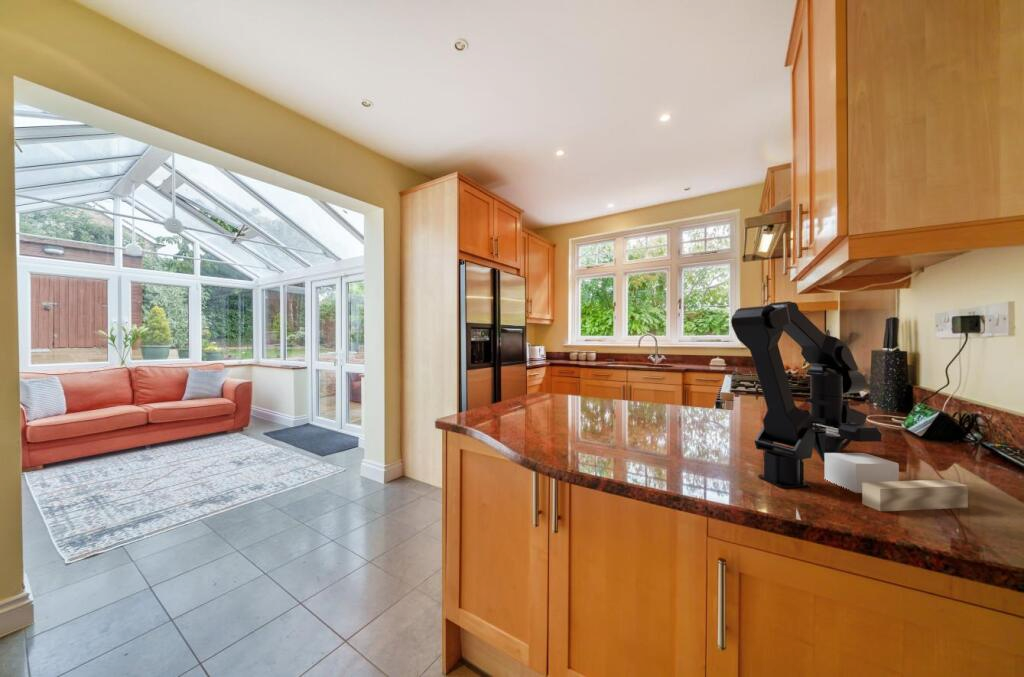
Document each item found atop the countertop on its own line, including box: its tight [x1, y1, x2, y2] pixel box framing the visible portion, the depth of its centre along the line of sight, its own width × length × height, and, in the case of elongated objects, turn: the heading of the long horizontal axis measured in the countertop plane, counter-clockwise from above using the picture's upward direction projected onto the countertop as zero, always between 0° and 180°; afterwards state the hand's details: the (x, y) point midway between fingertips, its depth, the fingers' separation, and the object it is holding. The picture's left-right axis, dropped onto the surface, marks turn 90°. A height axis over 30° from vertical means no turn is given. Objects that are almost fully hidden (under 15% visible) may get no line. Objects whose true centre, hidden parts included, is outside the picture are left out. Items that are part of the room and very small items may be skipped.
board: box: [861, 479, 969, 512], centre depth 67 cm, size 18×3×4 cm, turn 96°
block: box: [824, 452, 900, 494], centre depth 76 cm, size 9×7×6 cm
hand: (826, 462), depth 83 cm, fingers closed
